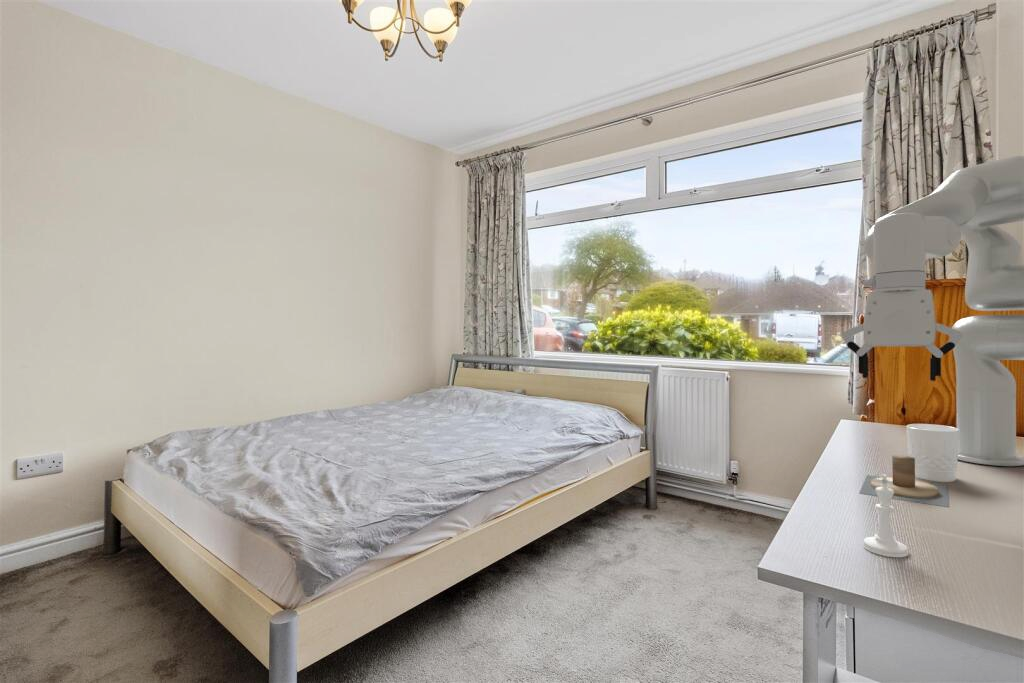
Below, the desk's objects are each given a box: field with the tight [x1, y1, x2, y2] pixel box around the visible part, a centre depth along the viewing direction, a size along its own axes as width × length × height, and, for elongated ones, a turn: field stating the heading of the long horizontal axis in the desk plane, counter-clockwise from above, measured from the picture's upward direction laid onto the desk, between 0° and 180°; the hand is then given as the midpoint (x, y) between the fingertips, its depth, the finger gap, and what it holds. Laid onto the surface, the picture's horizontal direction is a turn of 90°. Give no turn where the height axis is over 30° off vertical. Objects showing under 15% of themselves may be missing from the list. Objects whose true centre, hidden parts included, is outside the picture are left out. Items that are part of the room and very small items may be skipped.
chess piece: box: [862, 474, 909, 558], centre depth 67 cm, size 5×5×10 cm
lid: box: [871, 454, 939, 498], centre depth 90 cm, size 10×10×6 cm
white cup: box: [906, 423, 959, 483], centre depth 98 cm, size 8×8×10 cm
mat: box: [858, 474, 950, 508], centre depth 91 cm, size 14×12×1 cm
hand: (898, 378), depth 91 cm, fingers open, 9 cm apart
